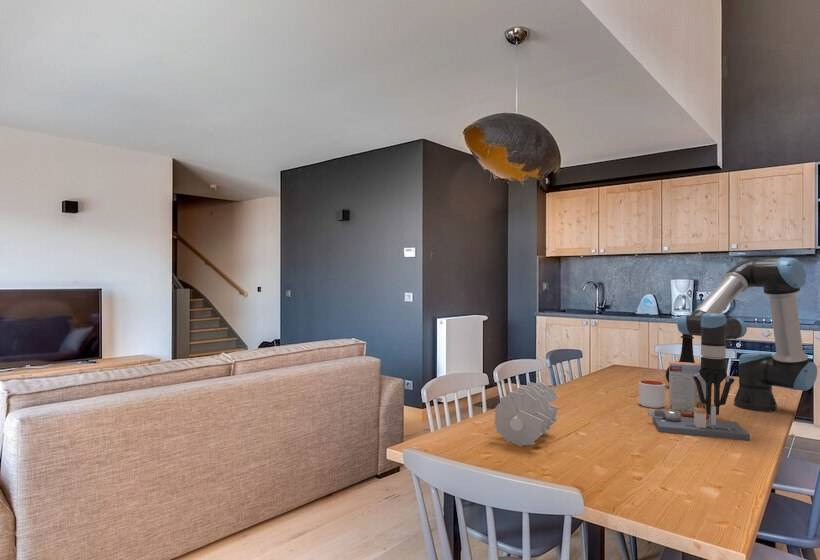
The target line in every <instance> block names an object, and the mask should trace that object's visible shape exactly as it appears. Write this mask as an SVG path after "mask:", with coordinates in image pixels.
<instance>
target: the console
mask: <svg viewBox="0 0 820 560" xmlns="http://www.w3.org/2000/svg"><path fill="white" fill-rule="evenodd" d="M651 419H652V420H653V421H652V420H651V421H652V422H653V424H654V426H655V428H656V427H657V428H656V429H658V430H657V431H658V432H659V433H664V432H667V434H675V433H678V434H677V435H685V434H687V436H696V435H698V436H699V437H707V436H709V437H708V438H717V437H718V438H719V439H728V440H729V439H730V440H741V441H751V434H750V433H749V432H748V431H747V430H745V429H744V427H742V426H741V425H740V424H739V423H738V422H737V421H728V420H718V419H716V425H711V424H710V423H709V419H708V418H706V428H698V427H696V426H695V425H694V417H692V418H691V417H685V416H681V421H678V422H675V421H668V420H665V419H663V417H659V416H651Z"/></svg>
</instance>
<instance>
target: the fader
mask: <svg viewBox="0 0 820 560" xmlns="http://www.w3.org/2000/svg"><path fill="white" fill-rule="evenodd" d="M706 414H707V411H706V410H705V409H704V408H694V417H693V418H694V425H695V426H696V427H698V428H706V419H707V418H706Z"/></svg>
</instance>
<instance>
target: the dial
mask: <svg viewBox="0 0 820 560" xmlns="http://www.w3.org/2000/svg"><path fill="white" fill-rule="evenodd" d="M647 415H648V417H652V416H659V417H663V419H665V420H668V421H675V422H678V421H681V417H682V416H681V412H680V411H678V410H673V409H669V408H665V409H662V410H660V409H653V408H650V409H649V408H648V410H647Z"/></svg>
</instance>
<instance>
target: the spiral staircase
mask: <svg viewBox="0 0 820 560" xmlns="http://www.w3.org/2000/svg"><path fill="white" fill-rule="evenodd" d="M558 399H559V396H558V394H557V392H556V390H555V388H554V387H551V388H550V387H548V386H547V385H546V384H545V383H544V382H542V381H540V382H539V383H535V382H531V381H527V384H526V385H520V387H517V389H516V390H514V391H510V392H509V391H508V392H507V395H505V396H502V397H499V401H500V402H498V404H497V405H496V406H495V408H494V409H493V411H494V413H495V414H494V415H495V416H494V423H493V424H494V425H495V427H496V432H497V433H499V434H500V435H501V437H502V438H503V439H504V440H505V441H506V443H507V444H508V443H511V444H514V445H516V446H517V447H520V448H522V447H523V446H534V445H535V441H538V440H539V438H540V437H541V436H542V435H546V434H548V431H550V430H551V426H552V425H553V424H555V423H556V422H557V421H558V418H557V417H556V416H557V414H558V410H559V407H558V406H556V405H553V404H551V402H554V401H555V400H558Z"/></svg>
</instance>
